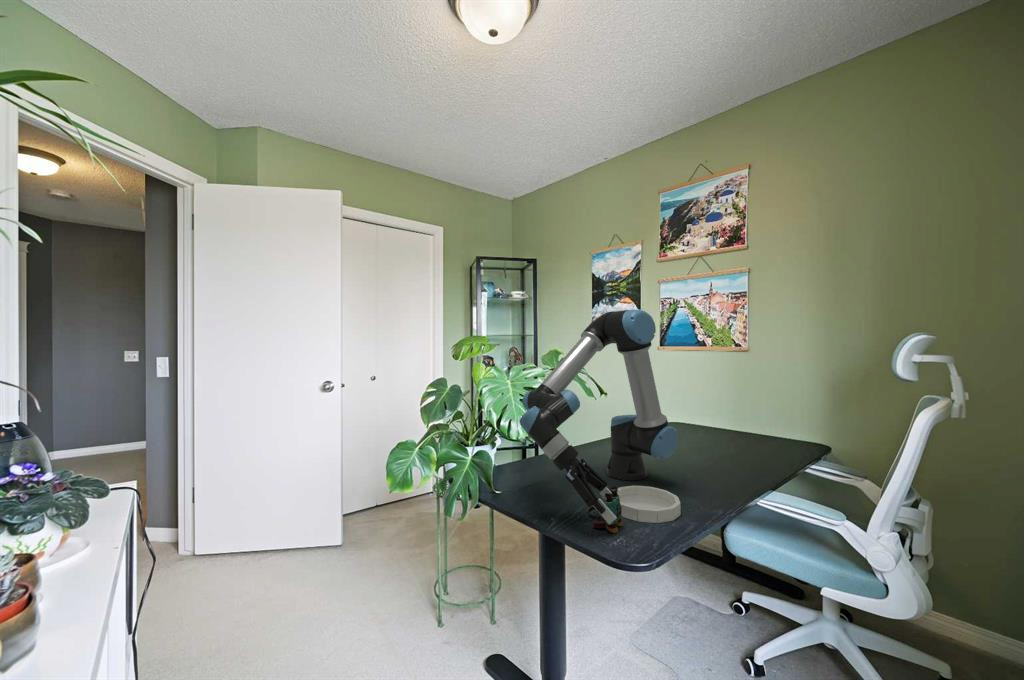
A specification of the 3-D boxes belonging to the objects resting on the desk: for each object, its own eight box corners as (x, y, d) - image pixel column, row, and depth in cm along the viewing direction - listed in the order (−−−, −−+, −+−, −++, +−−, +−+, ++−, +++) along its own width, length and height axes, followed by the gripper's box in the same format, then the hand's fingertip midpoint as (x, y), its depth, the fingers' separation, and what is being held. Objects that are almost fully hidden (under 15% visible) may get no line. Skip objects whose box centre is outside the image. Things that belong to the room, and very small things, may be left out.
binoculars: (591, 483, 126) (624, 486, 121) (595, 519, 126) (628, 523, 120) (580, 493, 119) (614, 496, 113) (584, 531, 118) (618, 535, 113)
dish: (599, 509, 131) (599, 498, 131) (630, 491, 145) (630, 481, 145) (662, 529, 117) (662, 516, 117) (689, 507, 132) (689, 496, 132)
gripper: (562, 451, 135) (613, 507, 129) (540, 470, 115) (598, 538, 109) (578, 436, 133) (630, 492, 127) (558, 453, 113) (619, 521, 107)
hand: (616, 514), depth 118 cm, fingers closed on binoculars, 9 cm apart
